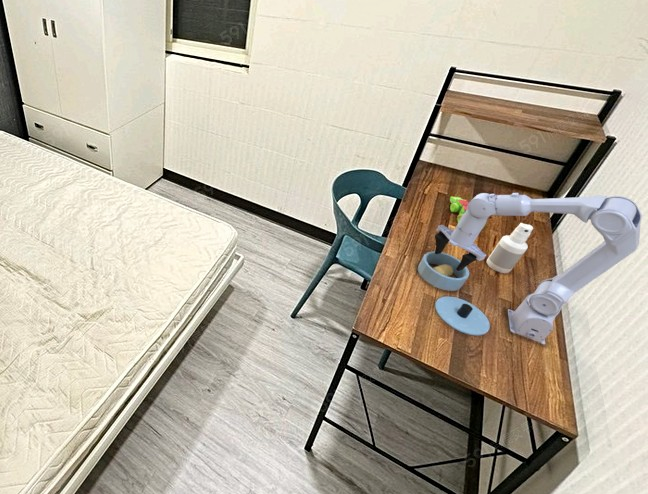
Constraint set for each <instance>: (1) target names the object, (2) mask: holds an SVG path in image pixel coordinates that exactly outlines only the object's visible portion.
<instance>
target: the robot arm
mask: <svg viewBox="0 0 648 494" xmlns="http://www.w3.org/2000/svg"><path fill="white" fill-rule="evenodd" d="M468 202H469V203H468V205H467V210H466V212H465V213H464V214H463V216H462V217H461V219H460V221H459V222H457V225H456V226H455V228H454V229H452V228H449V227H447V226H445V225H444V224H439V225H438V226H437V228H436V229H435V231H436V232H437V233H435V235H434V239H435V250H434V251H435V254H440V253H441V252H444V250H445V248H446V247H447V244H450V245H451V246H453V247H458V248H461V249H462V250H464V251H466V252H467V253H465V254H462V255H461V260H460V261H461V262H460V264H459V265H458V267H457V269H456V270H457V271H460V270H463V269H464V268H465V267H467V266H469V265H470V264H472V263H474V262H475V261H478V262H481V261H484V260H485V259H486V257H487V254H486V253H485V252H484V251H482V250H481V249H480V248H479V246H478V245H477V244H476V243H475V242H476V240H477V238H478V236H479V235H480V233H481V232H482V230H483V229H484V228H485V227H484V225H485V224H486V225H487V223H488V219H489V217H490V216H507V217H509V216H512V217H514V216H515V217H527V216H528V215H530V214H531V213H548V214H563V215H574V216H575V217H576V218H578V219H579V220H580V221H582V222H583V223H585V224H587V223H588V221H589V220H590V223H591V225H592V227H593V228H594V229H595V230H596V231H597V232H598V233H599V234H600V235H601V236H602V238H603V240H604V241H603V242H601V243H600V244H599V245H598V246H596V247H594V248H593V249H592V250H591V251H589V252H588V253H587V254H585V255H584V256H583V257H581V258H580V259H579V260H577V261H576V262H574V263H573V264H572V265H571V266H569V267H568V268H567V269H565V270H564V271H563V272H562V273H560V274H557V275H555V276H554V277H552V278H548V279H544V280H541V281H540V282H539V283H538V285H537V288H536V289H535V291H534V292H533V293H530V294H528V295H526V297H525V298H524V299H523V301H521V303H520V304H519V306H518V307H517V308H515V310H512V309H509V308H508V309H507V315H508V323H509V330H510V332H512V333H513V334H517V335H519V336H521V337H524V338H527V339H529V340H532V341H535V342H536V343H539V344H541V345H546V339H547V337H548V336H549V335H550V334H551V333H553V331H554V320H555V319H556V317H557V316H558V315H559V314H560V312H561V310H562V307H563V305H564V304H566V303H567V302H568V301H569V300H570V299H571V298H572V297H573V296H574V294H575V293H577V292H578V291H580V290H581V289H583V288H584V287H586V286H587V285H589V283H592V281H594V280H595V279H597V278H599V277H600V276H601V275H603V274H604V273H606V272H608V270H610V269H612V268H613V267H614V266H616V265H617V264H618V263H620V262H621V261H623V260H625V259H626V258H627V257H629V256H630V255H631V254H633V253H635V252H636V251H637V250H638V247H639V244H640V235H641V222H642V217H643V215H642V213H641V210H640V209H639V206H638V205H637V203H636V202H635V201H634V200H632V199H631V198H628V197H625V196H620V195H613V196H607V195H591V196H579V197H578V196H577V197H555V198H554V197H553V198H551V197H550V198H531V197H530V196H528V195H526V194H520V193H519V192H512V193H511V194H496V193H487V192H481V193H478V194H476V196H474V197H473V198H472V199H471V200H470V201H468ZM486 225H485V226H486ZM483 227H484V228H483Z"/></svg>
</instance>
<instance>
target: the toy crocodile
mask: <svg viewBox="0 0 648 494" xmlns="http://www.w3.org/2000/svg"><path fill="white" fill-rule="evenodd" d="M449 202H450V203H451V204H450V207H449V209H450V212H451V213H458V215H457V218H456V222H457V223H458V222H459V221H460V219H461V217H462V216H463V214H464V213H465V212H466V210H467V205H468V203H469V202H470V201H468V200H467V199H463V198H462V197H459V196H450V197H449ZM486 225H487V223H486V224H485V225H484V227H483V228H482V229H484V228H485V227H486Z"/></svg>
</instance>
